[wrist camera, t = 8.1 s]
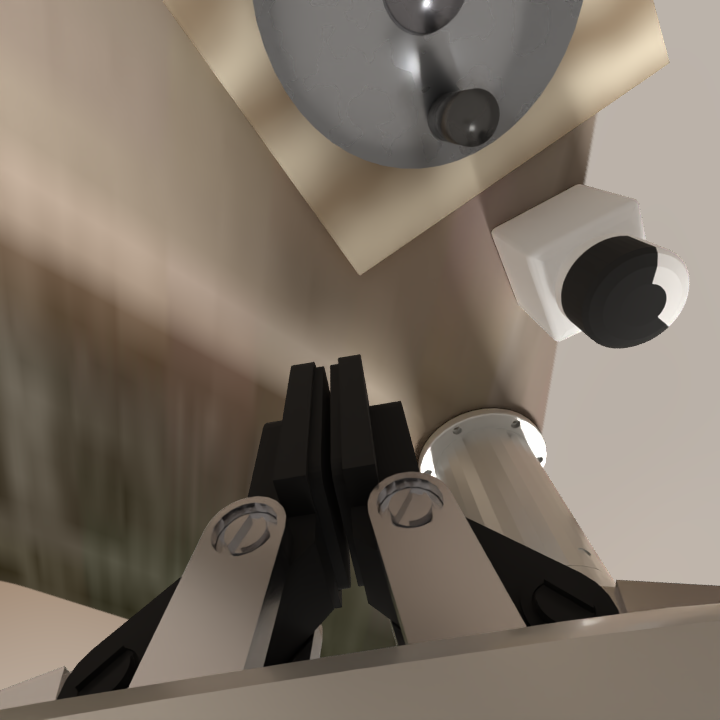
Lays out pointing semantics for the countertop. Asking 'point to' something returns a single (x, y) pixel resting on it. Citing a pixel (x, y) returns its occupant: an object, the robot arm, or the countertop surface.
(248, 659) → the robot arm
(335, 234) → the base board
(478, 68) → the flange plate
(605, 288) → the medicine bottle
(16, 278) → the countertop surface
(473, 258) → the countertop surface
